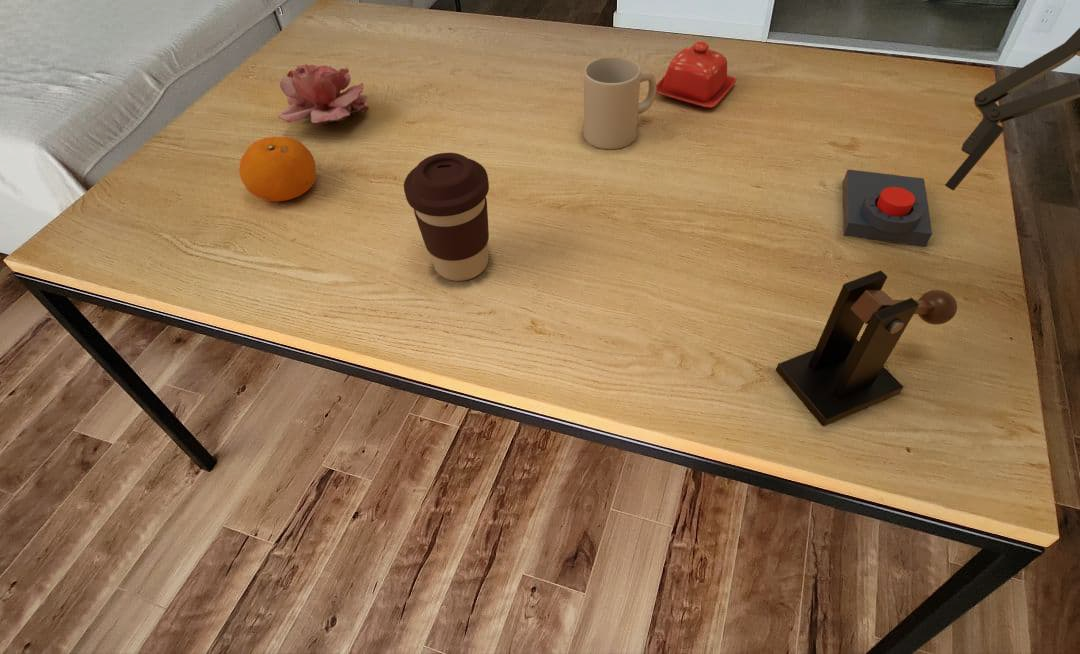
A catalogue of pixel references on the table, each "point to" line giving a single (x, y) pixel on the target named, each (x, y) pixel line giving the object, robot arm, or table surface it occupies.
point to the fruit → (277, 168)
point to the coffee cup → (451, 213)
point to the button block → (878, 225)
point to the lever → (931, 304)
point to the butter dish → (697, 76)
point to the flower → (320, 94)
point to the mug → (614, 101)
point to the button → (895, 201)
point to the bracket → (850, 356)
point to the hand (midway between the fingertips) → (1016, 226)
